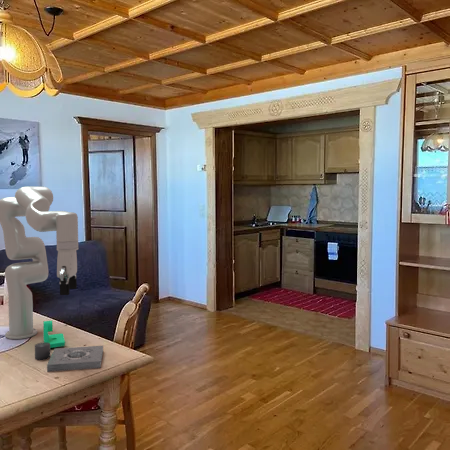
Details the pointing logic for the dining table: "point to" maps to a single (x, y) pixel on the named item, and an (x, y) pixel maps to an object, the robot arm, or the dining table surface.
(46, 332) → the camera mount
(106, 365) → the dining table surface
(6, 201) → the robot arm
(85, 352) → the mount plate
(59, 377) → the dining table surface
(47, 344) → the dark gray cylinder
